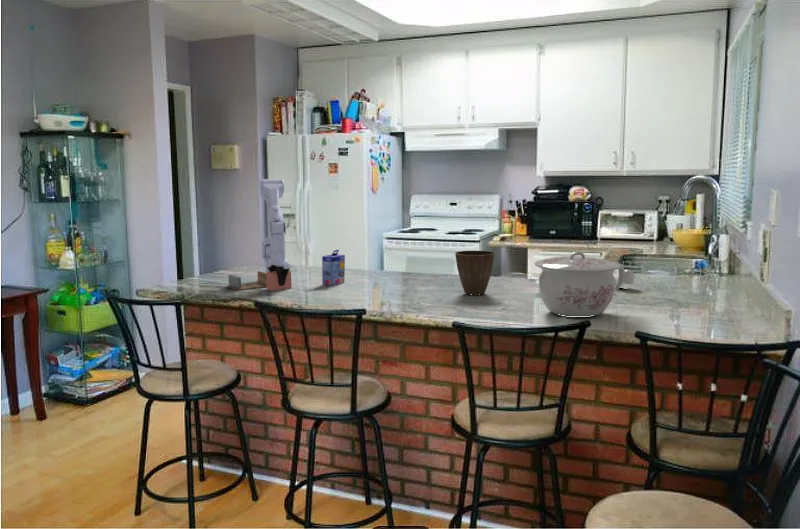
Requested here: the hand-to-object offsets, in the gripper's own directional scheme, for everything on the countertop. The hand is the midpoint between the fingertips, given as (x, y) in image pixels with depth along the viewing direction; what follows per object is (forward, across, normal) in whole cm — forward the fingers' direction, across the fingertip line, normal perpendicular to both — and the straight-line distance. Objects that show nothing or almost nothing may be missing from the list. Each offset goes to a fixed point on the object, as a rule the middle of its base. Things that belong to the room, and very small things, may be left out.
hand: (279, 284), depth 261 cm
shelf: (+2, -12, -7) cm, 14 cm away
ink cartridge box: (+2, +5, +23) cm, 24 cm away
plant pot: (+2, +59, +52) cm, 79 cm away
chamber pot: (+2, +105, +53) cm, 118 cm away
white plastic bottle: (+2, +84, +104) cm, 134 cm away
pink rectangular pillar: (+2, 0, 0) cm, 2 cm away
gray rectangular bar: (+2, -12, -14) cm, 18 cm away
